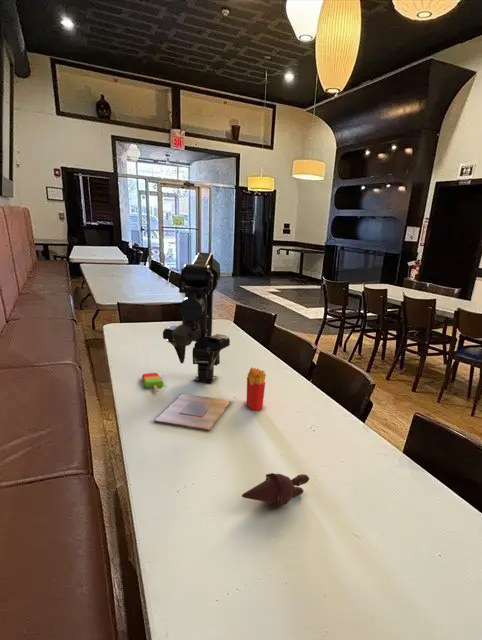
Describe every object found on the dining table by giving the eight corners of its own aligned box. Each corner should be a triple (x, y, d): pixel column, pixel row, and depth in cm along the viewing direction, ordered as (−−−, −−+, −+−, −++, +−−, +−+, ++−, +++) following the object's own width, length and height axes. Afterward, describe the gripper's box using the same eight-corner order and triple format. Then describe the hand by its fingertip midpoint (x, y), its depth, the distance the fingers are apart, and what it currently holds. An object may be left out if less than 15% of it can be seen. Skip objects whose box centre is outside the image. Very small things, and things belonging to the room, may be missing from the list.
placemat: (182, 395, 133) (182, 393, 133) (230, 402, 131) (230, 400, 131) (154, 422, 115) (154, 420, 115) (209, 431, 113) (209, 429, 112)
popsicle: (157, 377, 146) (157, 372, 146) (166, 393, 134) (166, 388, 133) (141, 378, 144) (141, 373, 143) (149, 395, 131) (148, 389, 131)
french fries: (243, 401, 132) (245, 366, 128) (254, 400, 134) (256, 365, 130) (255, 412, 125) (257, 376, 121) (266, 410, 127) (269, 374, 123)
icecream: (253, 498, 77) (319, 486, 84) (239, 469, 82) (302, 460, 89) (244, 522, 80) (308, 509, 88) (232, 493, 86) (293, 482, 93)
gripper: (149, 312, 109) (151, 367, 115) (210, 323, 103) (209, 381, 109) (174, 305, 119) (174, 357, 124) (231, 315, 112) (229, 369, 118)
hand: (195, 366), depth 119 cm, fingers open, 9 cm apart
